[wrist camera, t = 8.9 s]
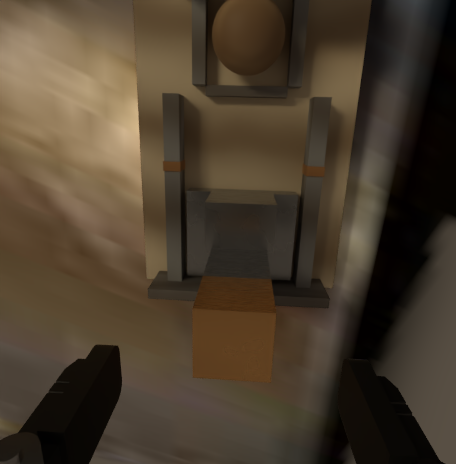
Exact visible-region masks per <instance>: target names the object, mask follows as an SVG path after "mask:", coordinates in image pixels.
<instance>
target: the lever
mask: <svg viewBox="0 0 456 464" xmlns="http://www.w3.org/2000/svg"><path fill="white" fill-rule="evenodd" d="M297 203H298V194H297V193H296V192H291V191H265V190H238V189H212V188H189V189H188V190H187V275H194V276H203V277H202V280H201V283H200V286H199V290H198V293H197V296H196V299H195V303H194V306H193V378H208V379H223V380H238V381H253V382H269V383H271V373H272V361H273V348H274V336H275V324H276V308H275V301H274V295H273V288H272V282H271V279H272V280H290V279H291V268H292V257H293V246H294V235H295V225H296V214H297Z"/></svg>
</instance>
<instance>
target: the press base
mask: <svg viewBox="0 0 456 464" xmlns="http://www.w3.org/2000/svg"><path fill="white" fill-rule="evenodd" d="M225 1H226V0H133V11H134V31H135V51H136V71H137V91H138V111H139V132H140V152H141V172H142V192H143V212H144V232H145V252H146V273H147V279H154V280H153V282H152V283H151V285H150V287H149V288H148V298H150V299H168V300H187V301H195V299H196V296H197V293H198V290H199V286H200V283H201V280H202V277H203V276H194V275H187V190H188V189H189V188H212V189H238V190H265V191H291V192H296V193H297V194H298V203H297V214H296V225H295V235H294V246H293V257H292V268H291V279H290V280H272V279H271V282H272V288H273V295H274V301H275V305H278V306H296V307H315V308H328V307H329V300H330V298H329V296H328V294H327V292H326V290H325V288H333V282H334V275H335V267H336V260H337V253H338V245H339V238H340V231H341V223H342V216H343V208H344V201H345V194H346V186H347V179H348V172H349V164H350V157H351V149H352V142H353V135H354V127H355V120H356V113H357V105H358V98H359V91H360V83H361V76H362V68H363V61H364V54H365V46H366V39H367V32H368V24H369V17H370V9H371V2H372V0H273V1H274V2H275V4H276V5H277V6H278V8H279V10H280V12H281V14H282V17H283V20H284V24H285V39H284V44H283V48H282V51H281V53H280V55H279V57H278V58H277V60H276V61H275V62H274V63H273V64H272V66H270V67H269V68H268V69H267V70H265V71H264V72H262V73H259V74H257V75H252V76H243V75H238V74H236V73H233V72H232V71H230V70H229V69H227V68H226V67H225V66H224V65H223V64H222V63H221V61H220V60H219V58H218V57H217V55H216V53H215V50H214V46H213V41H212V28H213V23H214V19H215V17H216V14H217V12H218V10H219V9H220V7H221V6H222V5H223V3H224V2H225Z"/></svg>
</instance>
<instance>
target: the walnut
mask: <svg viewBox="0 0 456 464" xmlns="http://www.w3.org/2000/svg"><path fill="white" fill-rule="evenodd" d="M284 39H285V24H284V20H283V17H282V14H281V12H280V10H279V8H278V6H277V5H276V4H275V2H274V1H273V0H226V1H225V2H224V3H223V5H222V6H221V7H220V9H219V10H218V12H217V14H216V17H215V19H214V23H213V28H212V41H213V46H214V50H215V53H216V55H217V57H218V58H219V60H220V61H221V63H222V64H223V65H224V66H225V67H226V68H227V69H229V70H230V71H232V72H233V73H236V74H238V75H243V76H252V75H257V74H259V73H262V72H264V71H265V70H267V69H268V68H269V67H270V66H272V64H273V63H274V62H275V61H276V60H277V58H278V57H279V55H280V53H281V51H282V48H283V44H284Z"/></svg>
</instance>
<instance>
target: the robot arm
mask: <svg viewBox="0 0 456 464" xmlns="http://www.w3.org/2000/svg"><path fill="white" fill-rule="evenodd" d="M121 387H122V375H121V363H120V352H119V347H118V346H114V345H95V346H94V347H93V349H92V350H91V352H90V353H89V355H88V356H87V358H86V359H77V360H76V361H75V362H73V363H72V364H71V365H69V366H68V367H67V368H65V370H64V371H63V372H62V374H61V375H60V376H59V378H58V379H57V380H56V383H54V385H53V386H52V387H51V389H50V390H49V393H47V394H46V395H45V397H44V398H43V399H42V401H41V402H40V404H39V405H38V406H37V408H36V409H35V410H34V412H33V413H32V414H31V416H30V417H29V419H28V420H27V421H26V423H25V424H24V425H23V427H22V428H21V429H20V431H19V432H18V433H15V434H12V435H9V436H7V437H5V438H3V439H1V440H0V464H89V462H90V460H91V458H92V456H93V454H94V452H95V449H96V447H97V445H98V443H99V441H100V439H101V436H102V434H103V432H104V430H105V428H106V425H107V423H108V421H109V419H110V417H111V415H112V412H113V410H114V408H115V406H116V404H117V401H118V399H119V396H120V393H121ZM338 408H339V413H340V416H341V419H342V422H343V425H344V428H345V431H346V434H347V437H348V440H349V443H350V446H351V449H352V452H353V455H354V458H355V461H356V464H445V463H443V462H441V461H440V460H439V459H438V457H437V455H436V453H435V452H434V450H433V448H432V446H431V445H430V443H429V441H428V440H427V438H426V436H425V434H424V433H423V431H422V429H421V428H420V426H419V424H418V422H417V421H416V419H415V417H414V416H412V412H411V410H410V409H409V407H408V405H406V402H405V400H404V398H403V397H402V395H401V393H400V392H399V390H398V388H396V387H395V386H394V385H393V384H392V383H391V382H390V381H389V380H388V379H387V378H386V377H383V376H376V374H375V372H374V370H373V368H372V366H371V364H370V363H369V361H368V360H360V359H344V361H343V366H342V372H341V378H340V384H339V390H338Z"/></svg>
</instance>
